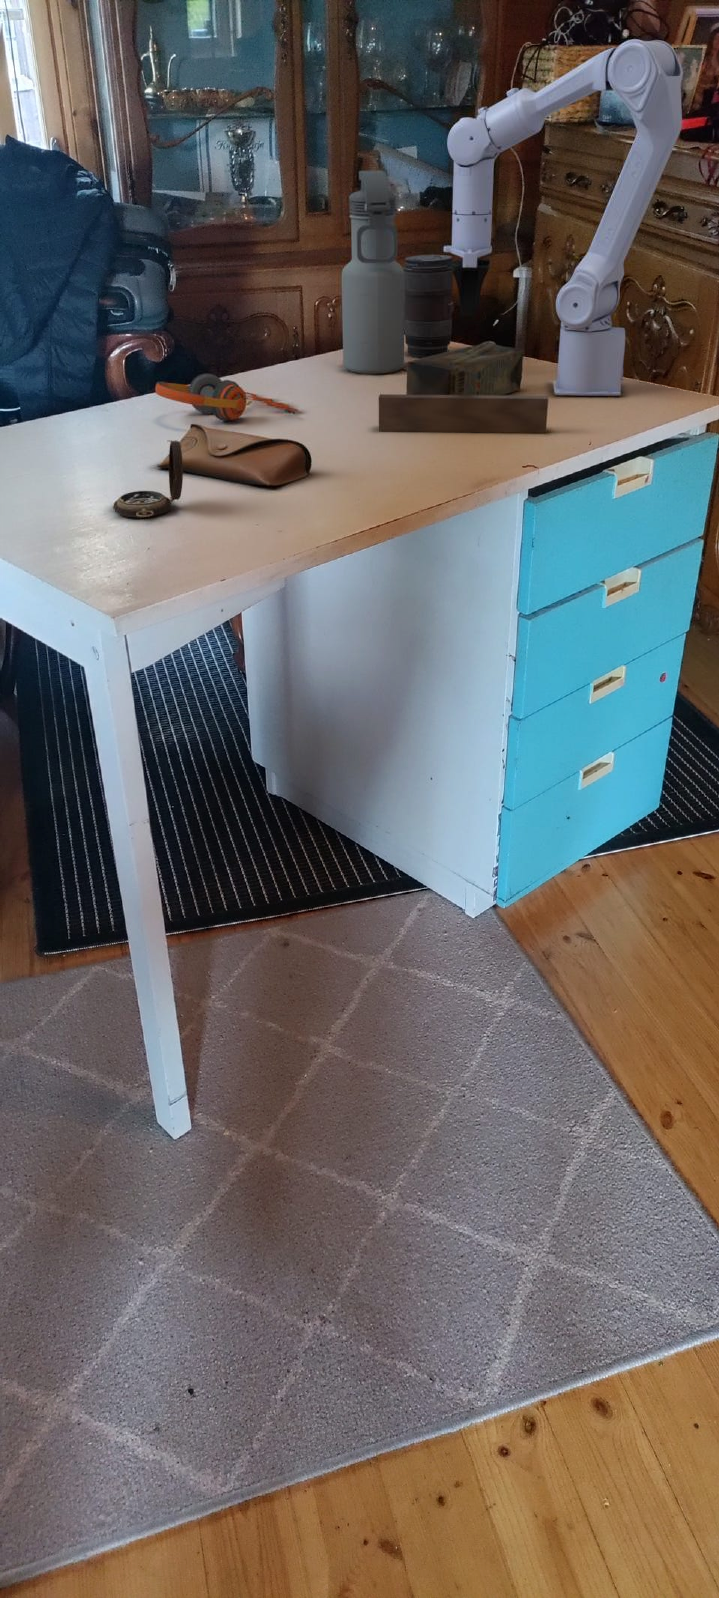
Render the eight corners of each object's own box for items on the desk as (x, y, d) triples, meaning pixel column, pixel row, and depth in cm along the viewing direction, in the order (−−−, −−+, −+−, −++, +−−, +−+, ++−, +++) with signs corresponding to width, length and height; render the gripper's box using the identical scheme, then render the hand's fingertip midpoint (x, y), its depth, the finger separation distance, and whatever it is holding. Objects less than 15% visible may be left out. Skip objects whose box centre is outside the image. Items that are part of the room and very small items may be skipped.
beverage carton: (524, 390, 176) (527, 343, 173) (448, 416, 164) (449, 366, 160) (480, 383, 181) (481, 337, 177) (402, 408, 168) (403, 359, 165)
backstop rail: (545, 430, 157) (547, 395, 155) (545, 433, 156) (548, 398, 153) (379, 428, 159) (379, 394, 157) (378, 431, 158) (378, 397, 155)
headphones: (249, 411, 178) (130, 400, 165) (254, 374, 176) (133, 360, 163) (314, 434, 166) (191, 424, 154) (321, 395, 164) (196, 381, 152)
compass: (112, 504, 132) (104, 438, 128) (183, 498, 134) (177, 433, 130) (116, 527, 125) (107, 457, 122) (191, 520, 127) (185, 452, 123)
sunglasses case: (150, 465, 143) (163, 410, 143) (184, 482, 149) (197, 429, 149) (273, 487, 135) (287, 429, 135) (303, 503, 141) (317, 448, 141)
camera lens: (427, 347, 205) (428, 252, 197) (461, 353, 200) (464, 256, 192) (393, 354, 200) (393, 257, 193) (427, 361, 195) (428, 261, 187)
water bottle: (409, 374, 187) (411, 173, 172) (347, 376, 186) (344, 175, 171) (398, 361, 195) (399, 169, 181) (339, 363, 194) (335, 170, 180)
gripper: (446, 208, 179) (444, 305, 186) (442, 218, 166) (440, 321, 173) (493, 208, 178) (489, 305, 185) (493, 218, 166) (489, 321, 173)
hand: (468, 313), depth 179 cm, fingers open, 3 cm apart
